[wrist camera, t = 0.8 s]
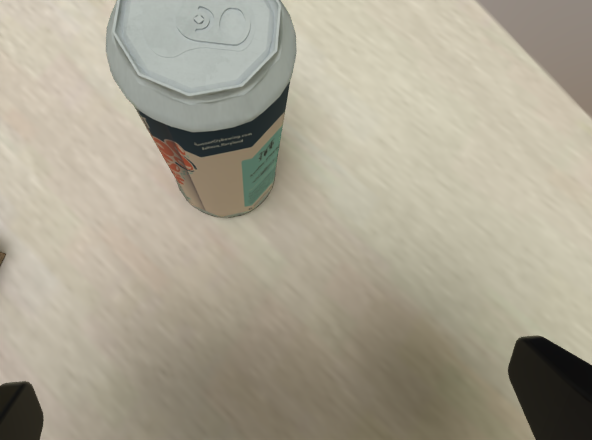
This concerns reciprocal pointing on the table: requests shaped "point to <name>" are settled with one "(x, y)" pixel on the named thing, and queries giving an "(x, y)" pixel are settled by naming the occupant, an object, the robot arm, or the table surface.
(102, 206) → the table surface
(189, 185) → the beer can
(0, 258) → the holder block
